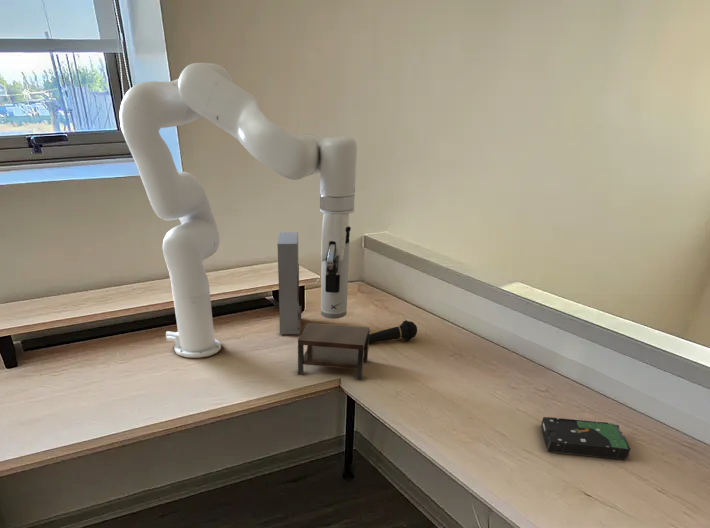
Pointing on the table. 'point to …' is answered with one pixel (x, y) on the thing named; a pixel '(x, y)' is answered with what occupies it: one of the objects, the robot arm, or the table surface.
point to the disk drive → (584, 438)
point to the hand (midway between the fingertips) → (335, 286)
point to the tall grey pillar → (289, 283)
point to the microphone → (395, 333)
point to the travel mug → (337, 302)
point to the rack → (333, 347)
